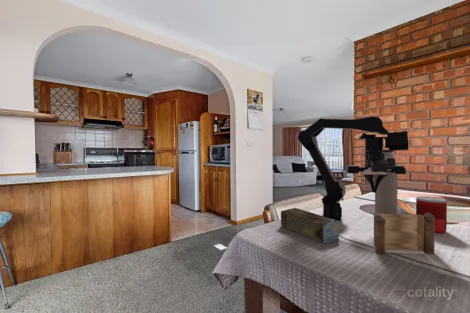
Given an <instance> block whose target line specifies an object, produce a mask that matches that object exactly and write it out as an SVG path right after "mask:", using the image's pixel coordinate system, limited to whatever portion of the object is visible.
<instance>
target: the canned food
mask: <svg viewBox="0 0 470 313" xmlns="http://www.w3.org/2000/svg"><path fill="white" fill-rule="evenodd" d="M447 209H448V201H447V199H445V198H441V197H436V196H427V195H426V196H424V195H423V196H419V195H418V196H416V200H415V215H422V216H423V215H424V214H426V213H430V214H432V215H433V216H434V217H435V220H434V222H435V234H440V235H441V234H446V232H447V225H448V224H447V223H448V222H447V221H448V220H447V218H448V217H447V216H448V215H447V214H448V212H447V211H448V210H447Z"/></svg>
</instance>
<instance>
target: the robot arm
mask: <svg viewBox="0 0 470 313" xmlns="http://www.w3.org/2000/svg"><path fill="white" fill-rule="evenodd" d="M325 129H333V130H334V129H336V130H337V129H338V130H339V129H341V130H356V131H361V132H363V133H362V134H361V135H360V136H359V140H364V155H363V156H364V166H360V165H356V164H354V165H353V164H350V165H349V164H347V165H345V167H344V172H345V173H347V174H351V175H352V174H354V175H355V174H357V175H358V174H359V173H360V175H362V176H363V177H364V178H365V180H366V182H367V184H368V186H369V189H370V191H371V193H374V194H375V193H376V191H377V188H378V186H379V183H380V182H381V180H382V179H383V178H384V177H385V176H388V175H386V172H390V173H395V174H398V175H406V174H407V169H406V167H405V166H404V165H399V164H398V165H395V159H394V158H387V159H385V158H384V154H383V150H384V147H385V149H388V150H389V151H393V152H394V151H395V152H396V151H402V152H406V151H409V145H410V143H409V137H408V136H409V134H408V131H407V130H402V131H391V132H389V131H388V130H389V129H386V128H385V127H384V122H383V120H382V119H381V118H380V117H379V116H367V117H366V116H365V117H361V118H353V119H347V118H346V119H345V118H342V119H341V118H318V119H317V120H316V121H315V122H314V123H312V124H311V125H309V126H308V127H307V128H306V129H303V130H300V131H299V133H298V135H297V139H298V141H299V143H300V144H301V146H303V147H304V149H306V151H307V152H308V153H309V155H310V157H311V158H312V161H313V162H314V165H315V166H316V168H317V170H318V172H319V174H320V176H321V178H322V179H323V182H324V187H325V192H326V194H325V195H324V196H323V197H322V198H321V202H322V214H321V216H324V217H327V218H330V219H333V220H336V221H342V218H343V208H342V206H341V203H340V202H341V200H343V198H344V197H345V196H346V193H347V192H346V189H347V187H346V186H345V185H344V182H343V180H342V179H339V180H338V179H337V178H336V177H335V175H334V174H333V172H332V170H331V169H330V167H329V165H328V162H327V161H326V159H325V157H324V156H323V154H322V152H321V150H320V148H319V144H318V140H317V137H319V135H320V134H321V133H322V132H323V131H324V130H325ZM365 132H366V133H369V134H366V133H365ZM377 134H379V135H381V136H377ZM375 172H376V173H375Z"/></svg>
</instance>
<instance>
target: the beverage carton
mask: <svg viewBox="0 0 470 313" xmlns="http://www.w3.org/2000/svg"><path fill="white" fill-rule="evenodd" d="M280 224H281V227H283V228H286V229H288V230H289V231H292V232H294V233H297V234H299V235H302V236H305V237H306V238H309V239H311V240H314V241H317V242H320V243H322V244H326V243H330V242H333V241H335V240H338V239H339V238H340V229H339V220H333V219H330V218H327V217H324V216H323V215H322V214H321V215H320V214H317V213H314V212H310V211H307V210H304V209H301V208H296V207H292V208H287V209H284V210H281V211H280Z"/></svg>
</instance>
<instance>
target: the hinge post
mask: <svg viewBox="0 0 470 313" xmlns="http://www.w3.org/2000/svg"><path fill="white" fill-rule="evenodd" d="M423 216H424V244H423V250H422V251H423V252H424V253H425V254H431V255H434V254H435V238H436V237H435V234H436V233H435V222H434V220H435V217H434V216H433V215H432V214H430V213H426V214H424V215H423Z"/></svg>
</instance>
